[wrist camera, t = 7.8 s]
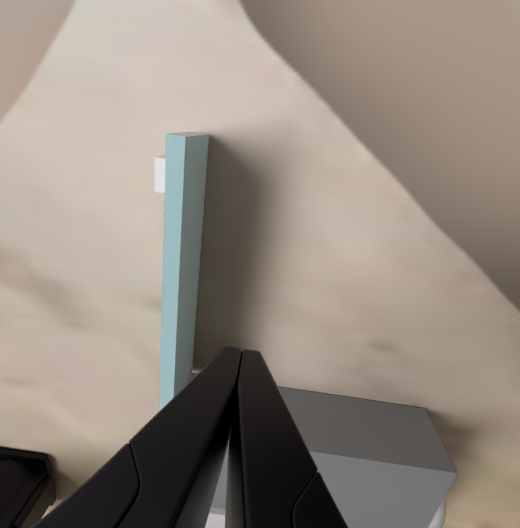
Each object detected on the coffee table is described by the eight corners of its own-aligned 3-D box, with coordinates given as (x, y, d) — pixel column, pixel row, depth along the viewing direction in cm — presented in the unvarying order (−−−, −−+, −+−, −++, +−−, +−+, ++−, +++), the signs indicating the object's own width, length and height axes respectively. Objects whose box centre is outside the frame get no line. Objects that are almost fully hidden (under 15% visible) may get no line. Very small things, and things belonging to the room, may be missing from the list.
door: (193, 371, 24) (173, 426, 20) (167, 367, 24) (142, 421, 20) (211, 134, 18) (187, 137, 13) (176, 129, 18) (141, 130, 13)
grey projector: (181, 475, 29) (160, 546, 24) (187, 373, 25) (163, 435, 20) (398, 507, 29) (422, 585, 24) (444, 411, 25) (486, 483, 20)
